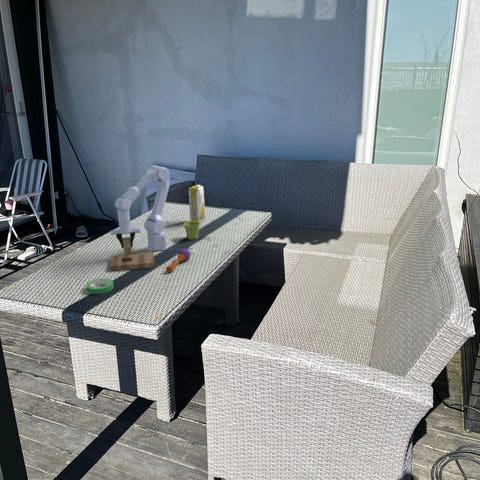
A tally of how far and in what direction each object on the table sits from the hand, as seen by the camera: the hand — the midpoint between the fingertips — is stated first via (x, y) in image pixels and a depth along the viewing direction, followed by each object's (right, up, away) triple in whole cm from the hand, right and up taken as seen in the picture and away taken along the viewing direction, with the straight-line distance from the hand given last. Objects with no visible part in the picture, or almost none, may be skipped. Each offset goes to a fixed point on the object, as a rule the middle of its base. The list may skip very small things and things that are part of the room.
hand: (127, 247), depth 234 cm
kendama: (+28, -9, -11) cm, 31 cm away
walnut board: (+5, -8, -9) cm, 13 cm away
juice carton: (+31, +15, +57) cm, 66 cm away
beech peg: (0, -3, +1) cm, 3 cm away
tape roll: (-3, -18, -35) cm, 40 cm away
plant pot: (+31, +5, +27) cm, 41 cm away
